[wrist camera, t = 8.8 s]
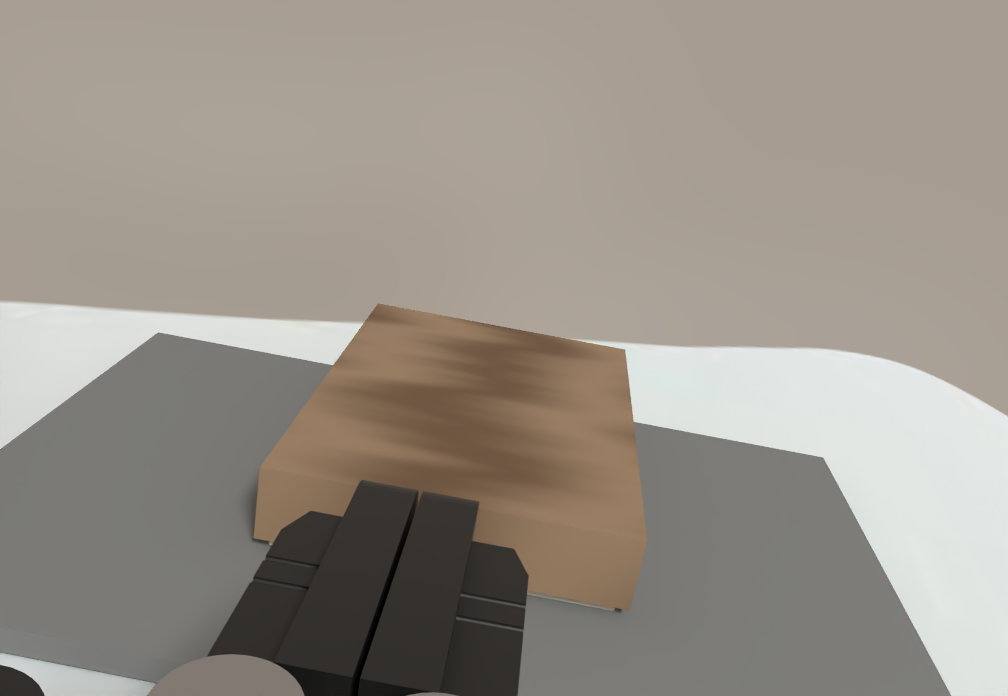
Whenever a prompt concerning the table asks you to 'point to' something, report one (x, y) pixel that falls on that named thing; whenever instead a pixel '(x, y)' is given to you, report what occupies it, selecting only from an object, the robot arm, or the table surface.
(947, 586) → the table surface
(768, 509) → the charcoal mat
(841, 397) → the table surface
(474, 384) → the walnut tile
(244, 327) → the table surface
